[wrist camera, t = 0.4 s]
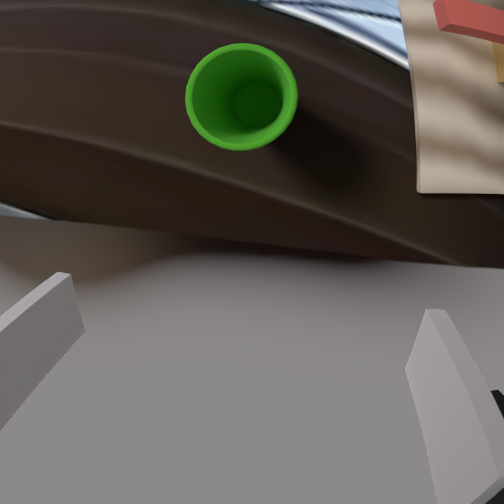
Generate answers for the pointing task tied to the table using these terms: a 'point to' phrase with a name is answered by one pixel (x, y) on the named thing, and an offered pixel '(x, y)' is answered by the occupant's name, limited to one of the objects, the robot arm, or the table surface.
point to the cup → (241, 97)
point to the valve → (499, 60)
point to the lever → (470, 19)
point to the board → (454, 105)
